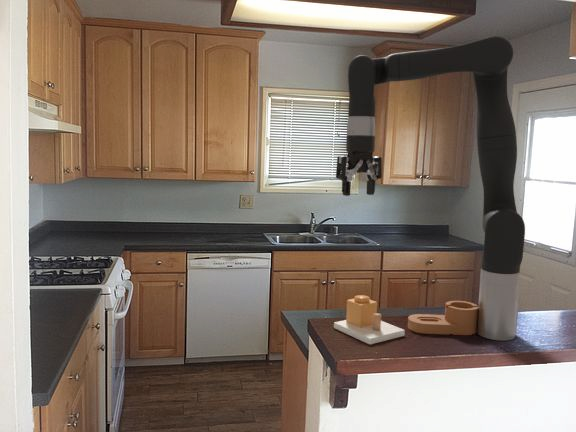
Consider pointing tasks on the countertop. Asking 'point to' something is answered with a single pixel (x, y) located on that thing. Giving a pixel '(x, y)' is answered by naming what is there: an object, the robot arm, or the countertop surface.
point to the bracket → (447, 320)
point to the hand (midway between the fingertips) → (358, 195)
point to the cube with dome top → (361, 311)
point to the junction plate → (371, 330)
